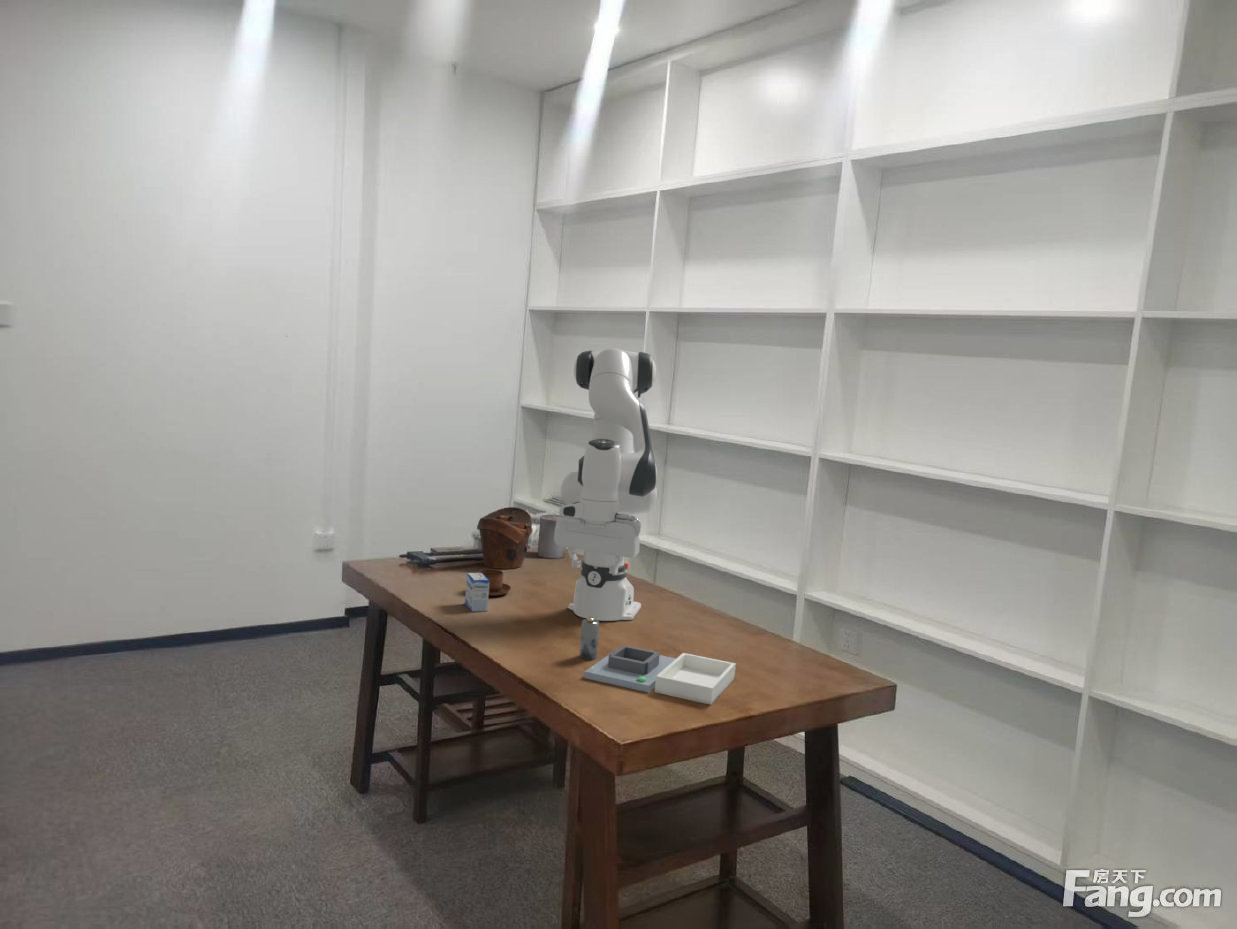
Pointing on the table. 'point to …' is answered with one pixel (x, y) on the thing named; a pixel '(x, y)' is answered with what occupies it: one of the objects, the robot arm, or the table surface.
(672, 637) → the table surface
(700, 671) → the tray
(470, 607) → the medicine box
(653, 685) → the tester cradle
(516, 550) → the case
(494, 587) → the cup and saucer
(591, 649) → the cell
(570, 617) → the table surface
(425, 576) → the table surface
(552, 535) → the pillar candle
